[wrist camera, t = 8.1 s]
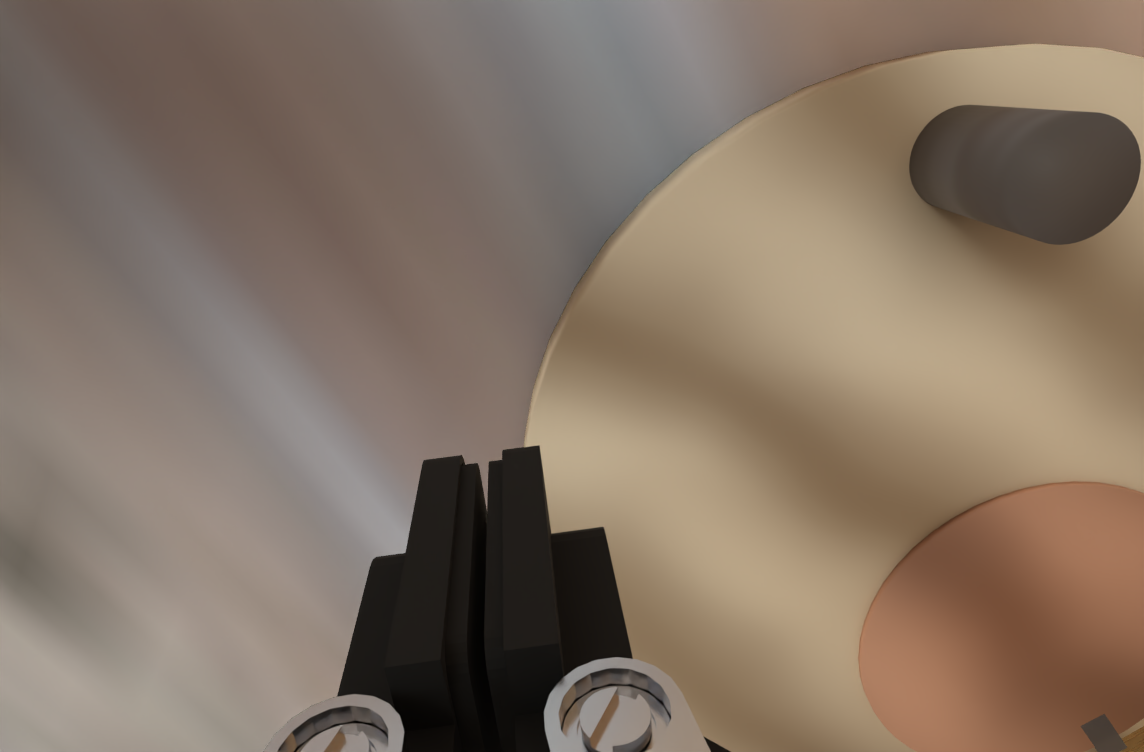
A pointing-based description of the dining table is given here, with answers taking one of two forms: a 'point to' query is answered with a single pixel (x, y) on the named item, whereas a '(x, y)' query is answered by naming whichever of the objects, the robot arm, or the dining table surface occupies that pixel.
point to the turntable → (878, 411)
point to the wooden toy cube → (1134, 741)
